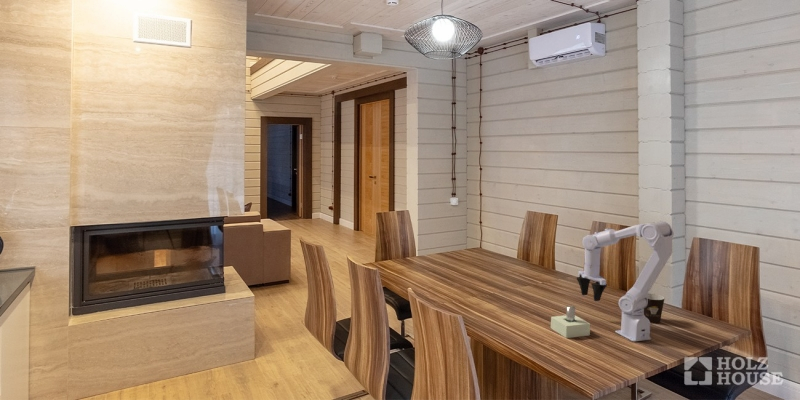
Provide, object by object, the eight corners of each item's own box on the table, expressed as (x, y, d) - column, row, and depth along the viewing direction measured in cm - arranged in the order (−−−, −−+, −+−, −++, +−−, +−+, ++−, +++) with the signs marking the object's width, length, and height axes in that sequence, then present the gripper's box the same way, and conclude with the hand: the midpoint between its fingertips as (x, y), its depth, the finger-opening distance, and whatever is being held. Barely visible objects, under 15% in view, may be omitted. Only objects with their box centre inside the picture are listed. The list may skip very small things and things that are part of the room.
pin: (576, 328, 174) (576, 307, 173) (569, 329, 173) (570, 308, 172) (570, 325, 177) (571, 305, 176) (564, 326, 176) (564, 306, 175)
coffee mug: (665, 320, 186) (667, 296, 185) (659, 326, 180) (661, 301, 179) (634, 313, 194) (636, 290, 193) (628, 318, 188) (629, 295, 187)
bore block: (589, 335, 171) (590, 323, 171) (566, 338, 169) (566, 326, 168) (573, 325, 181) (573, 314, 180) (550, 328, 178) (551, 316, 178)
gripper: (572, 260, 189) (570, 293, 190) (595, 269, 175) (593, 304, 176) (586, 259, 190) (585, 291, 192) (611, 268, 176) (609, 302, 178)
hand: (590, 297), depth 184 cm, fingers open, 7 cm apart
